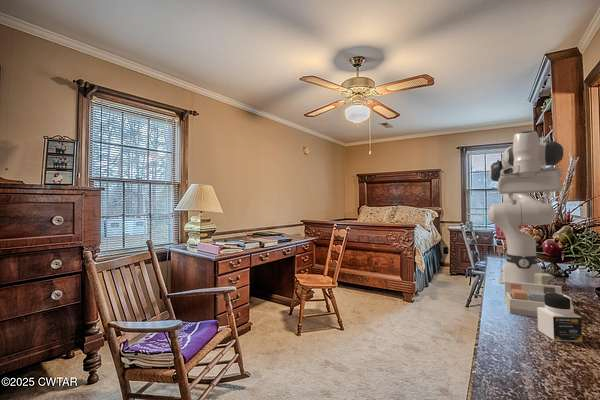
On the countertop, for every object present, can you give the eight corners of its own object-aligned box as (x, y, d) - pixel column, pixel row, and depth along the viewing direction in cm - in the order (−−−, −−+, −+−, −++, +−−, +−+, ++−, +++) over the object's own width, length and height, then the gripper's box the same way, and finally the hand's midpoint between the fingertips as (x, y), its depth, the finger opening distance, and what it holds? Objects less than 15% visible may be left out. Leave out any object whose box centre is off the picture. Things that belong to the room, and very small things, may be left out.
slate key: (529, 297, 107) (528, 290, 107) (542, 298, 105) (542, 291, 105) (531, 301, 103) (531, 294, 103) (545, 302, 101) (545, 295, 101)
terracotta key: (512, 295, 109) (512, 288, 110) (524, 296, 108) (524, 289, 108) (514, 299, 105) (513, 292, 105) (527, 300, 103) (527, 293, 103)
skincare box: (555, 302, 115) (554, 276, 115) (542, 301, 116) (541, 275, 116) (547, 297, 120) (546, 273, 120) (534, 297, 121) (533, 272, 121)
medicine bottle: (554, 341, 83) (552, 298, 83) (537, 330, 90) (536, 290, 90) (583, 342, 82) (581, 298, 82) (563, 331, 89) (562, 291, 89)
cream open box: (505, 301, 116) (504, 281, 117) (561, 308, 108) (560, 286, 108) (510, 313, 104) (509, 290, 104) (574, 321, 95) (573, 296, 96)
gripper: (562, 168, 114) (564, 203, 113) (499, 174, 128) (500, 205, 127) (561, 164, 110) (563, 201, 108) (496, 171, 124) (497, 204, 122)
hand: (528, 203), depth 118 cm, fingers open, 8 cm apart
